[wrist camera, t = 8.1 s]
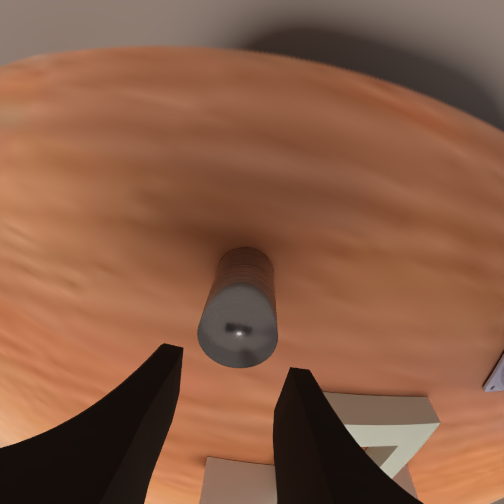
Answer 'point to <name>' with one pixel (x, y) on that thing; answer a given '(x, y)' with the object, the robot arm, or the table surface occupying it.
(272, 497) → the board
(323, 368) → the table surface
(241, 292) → the dowel
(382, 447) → the socket block
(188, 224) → the table surface
